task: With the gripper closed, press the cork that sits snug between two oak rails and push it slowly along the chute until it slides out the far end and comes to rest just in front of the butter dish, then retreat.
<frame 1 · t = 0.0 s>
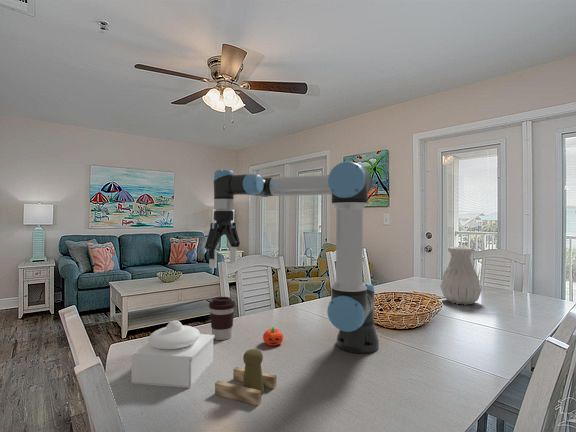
hand: (223, 265, 131), 28 cm above the table, fingers open, 13 cm apart
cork: (252, 392, 91), on the table
coffee cup: (222, 337, 132), on the table
chute: (246, 390, 92), on the table
butter dish: (175, 372, 103), on the table
pumpkin: (272, 344, 125), on the table
vase: (460, 302, 186), on the table
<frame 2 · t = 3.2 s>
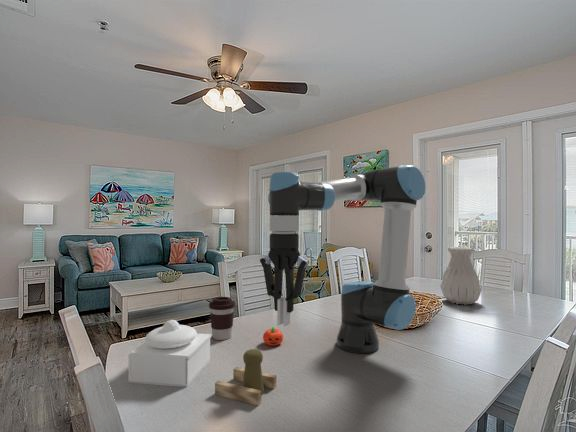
hand: (283, 323, 87), 19 cm above the table, fingers closed
butter dish: (172, 372, 103), on the table
everything else where it was.
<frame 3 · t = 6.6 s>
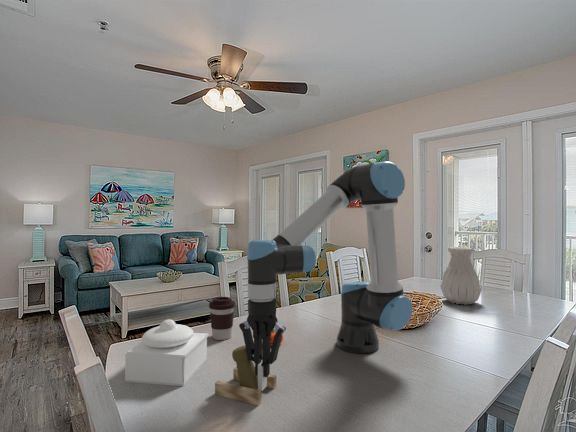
hand: (262, 387, 90), 2 cm above the table, fingers closed
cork: (251, 388, 91), point 1 cm above the table, touching gripper, hand
butter dish: (169, 371, 104), on the table
everything else where it was.
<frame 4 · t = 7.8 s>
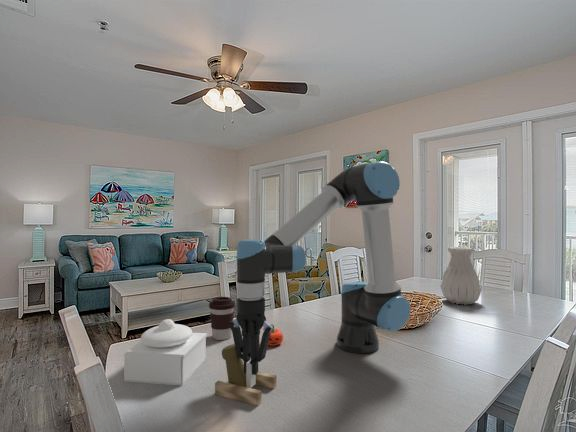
hand: (251, 385, 91), 2 cm above the table, fingers closed
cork: (240, 386, 92), point 1 cm above the table, touching gripper, hand
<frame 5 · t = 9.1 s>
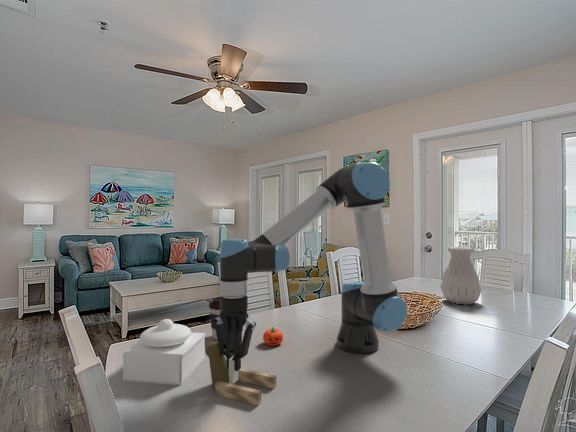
hand: (233, 381, 93), 2 cm above the table, fingers closed
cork: (223, 382, 94), point 1 cm above the table, touching gripper, hand
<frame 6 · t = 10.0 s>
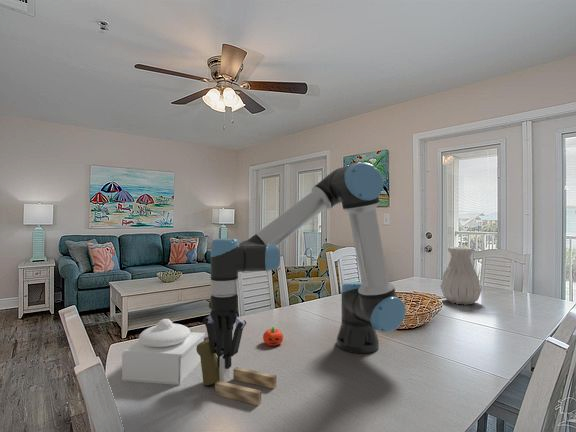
hand: (224, 379, 94), 2 cm above the table, fingers closed
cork: (214, 380, 95), point 1 cm above the table, touching gripper, hand
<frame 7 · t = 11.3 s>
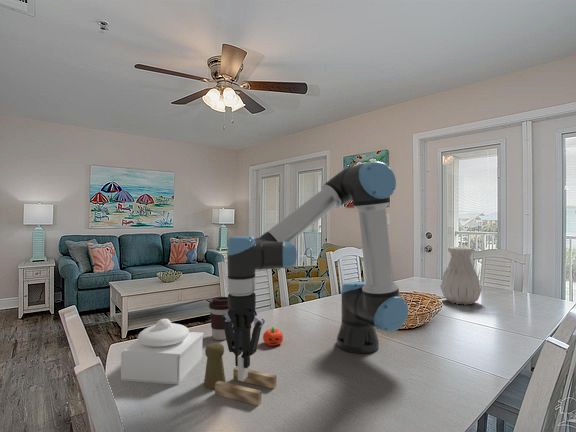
hand: (242, 378, 93), 3 cm above the table, fingers closed
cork: (214, 384, 95), on the table
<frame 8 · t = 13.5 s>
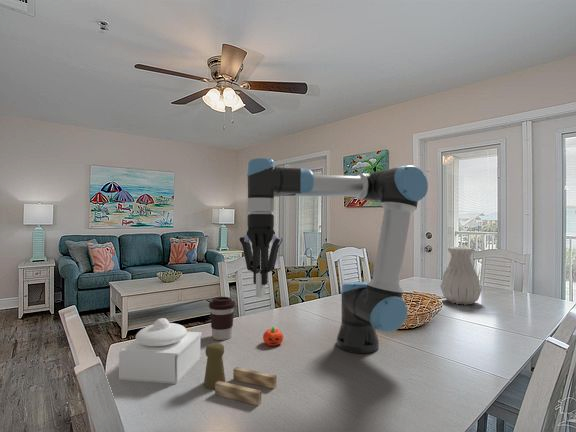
hand: (260, 295, 97), 24 cm above the table, fingers closed
at the end: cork inside the target area on the table beside the chute (3.5 cm from its centre), on the table; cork 20.4 cm from the butter dish (horizontally); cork tilted 1° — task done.
